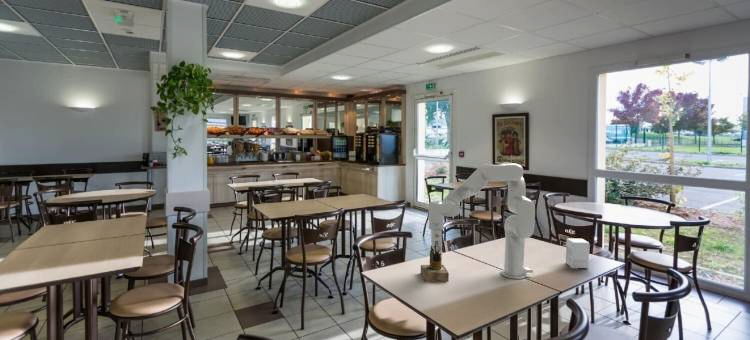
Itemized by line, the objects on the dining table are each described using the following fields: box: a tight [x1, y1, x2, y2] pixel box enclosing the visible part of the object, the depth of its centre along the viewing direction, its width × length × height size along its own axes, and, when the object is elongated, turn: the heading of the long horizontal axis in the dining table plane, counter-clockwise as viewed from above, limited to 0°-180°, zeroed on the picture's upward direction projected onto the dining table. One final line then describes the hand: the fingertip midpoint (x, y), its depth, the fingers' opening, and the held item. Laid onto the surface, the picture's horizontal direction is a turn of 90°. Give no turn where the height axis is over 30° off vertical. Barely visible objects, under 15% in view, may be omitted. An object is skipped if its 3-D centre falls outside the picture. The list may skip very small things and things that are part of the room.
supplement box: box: [565, 238, 590, 269], centre depth 212 cm, size 9×9×15 cm
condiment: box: [424, 245, 444, 272], centre depth 193 cm, size 7×8×12 cm
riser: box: [420, 264, 450, 283], centre depth 194 cm, size 12×12×5 cm
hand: (435, 258), depth 193 cm, fingers open, 9 cm apart
